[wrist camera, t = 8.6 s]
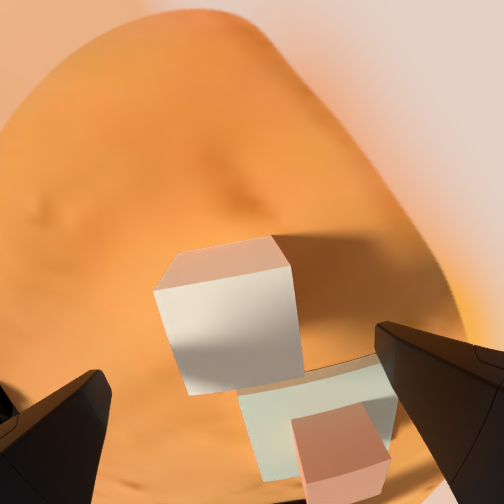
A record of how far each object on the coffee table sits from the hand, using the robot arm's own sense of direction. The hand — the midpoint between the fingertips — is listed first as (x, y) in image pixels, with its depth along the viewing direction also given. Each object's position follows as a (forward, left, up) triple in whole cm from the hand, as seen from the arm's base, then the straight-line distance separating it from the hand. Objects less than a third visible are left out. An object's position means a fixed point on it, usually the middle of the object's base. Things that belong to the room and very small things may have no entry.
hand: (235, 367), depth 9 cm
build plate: (-11, -4, -6) cm, 13 cm away
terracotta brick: (-11, -4, -5) cm, 13 cm away
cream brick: (0, 0, -6) cm, 7 cm away
